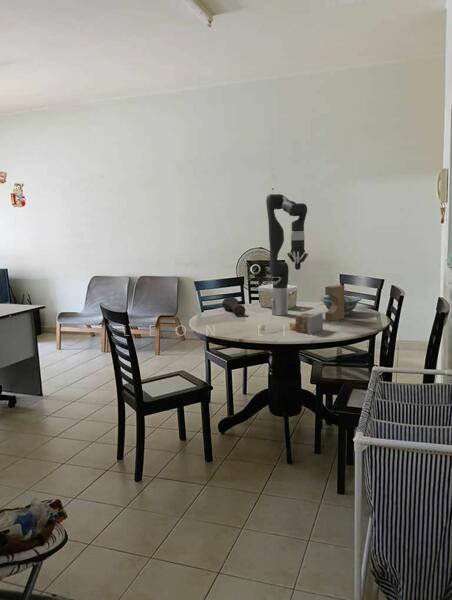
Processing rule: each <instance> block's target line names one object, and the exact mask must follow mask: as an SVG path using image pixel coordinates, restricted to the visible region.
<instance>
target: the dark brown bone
mask: <svg viewBox="0 0 452 600" xmlns="http://www.w3.org/2000/svg"><path fill="white" fill-rule="evenodd" d="M221 305H222V307H223V309H224V310H225V311H233V312H234V314H235V316H237V317H243V316H244V315H245V313H246V308H245V306H244V305H242V304H239V299H237V298H236V297H234V296H229V297H225V298H224V299H223V301H222V302H221Z"/></svg>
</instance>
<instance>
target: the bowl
mask: <svg viewBox="0 0 452 600" xmlns="http://www.w3.org/2000/svg"><path fill="white" fill-rule="evenodd" d="M320 301H321V302H323V303H324V305H325V308H326V309H327V311H329V309H330V308H331V306H332V299H331V298H330V296H328V295H325V296H322V297H321V298H320ZM360 301H362V298H361V297H360V296H353V295H344V316H347V315H349V314H350V313H351V312H352V311H354V309H355V308H356V306H357V304H358V302H360Z"/></svg>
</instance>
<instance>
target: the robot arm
mask: <svg viewBox="0 0 452 600" xmlns="http://www.w3.org/2000/svg"><path fill="white" fill-rule="evenodd" d="M265 204H266V211H267V218H268V219H267V220H268V237H269V238H268V242H269V274H270V277H272V278H279V279H278V280H277V281H276V280H275V282H273V283H272V284H273V299H272V308H271V315H274V316H287V315H288V312H289V310H288V292H287V285H289V270H290V269H289V264H288V263H287V262H285V261H279V262H278V257H279V253H280V251H281V249H282V246H283V245H284V242H285V232H284V228H283V227H282V225H281V223H280V222H279V221H278V218H277V217H276V214H275V210H281V209H282V211H284V212H285V213H288V215H289V216H290V217H298V218H297V220H295V219H294V220H293V221H291V232H290V233H291V234H290V248H291V249H290V252H288V253H286V254H287V256H288V258H289V260H290V261H291V262H292V263H294V269H295V270H297V271H299V270H301V266H302V265H301V263H304V262H305V260H306V259H307V257H308V256H309V253H307V252H306V249H305V239H306V238H305V222H306V217H307V214H308V207H307V205H306V203H296V202H295V201H293V200H290V199H289V198H287V197H286V196H285V195H284V194H281V193H277V194H276V193H275V194H272V193H270V194H267V196H266V202H265Z"/></svg>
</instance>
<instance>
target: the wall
mask: <svg viewBox="0 0 452 600" xmlns="http://www.w3.org/2000/svg"><path fill="white" fill-rule="evenodd" d="M313 314H314V315H312V316H309V317H307V332H306V334H307V335H313V334H315V333H318V332H320V331H322V330H323V327H324V326H323V325H324V321H323V320H324V319H323V316H324V315H323V312H318V313H317V312H316V313H313Z"/></svg>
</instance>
